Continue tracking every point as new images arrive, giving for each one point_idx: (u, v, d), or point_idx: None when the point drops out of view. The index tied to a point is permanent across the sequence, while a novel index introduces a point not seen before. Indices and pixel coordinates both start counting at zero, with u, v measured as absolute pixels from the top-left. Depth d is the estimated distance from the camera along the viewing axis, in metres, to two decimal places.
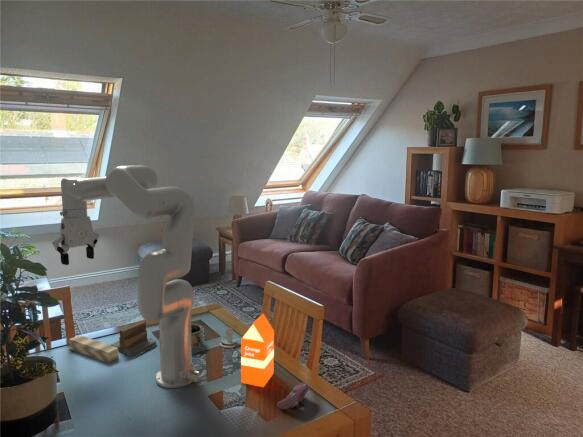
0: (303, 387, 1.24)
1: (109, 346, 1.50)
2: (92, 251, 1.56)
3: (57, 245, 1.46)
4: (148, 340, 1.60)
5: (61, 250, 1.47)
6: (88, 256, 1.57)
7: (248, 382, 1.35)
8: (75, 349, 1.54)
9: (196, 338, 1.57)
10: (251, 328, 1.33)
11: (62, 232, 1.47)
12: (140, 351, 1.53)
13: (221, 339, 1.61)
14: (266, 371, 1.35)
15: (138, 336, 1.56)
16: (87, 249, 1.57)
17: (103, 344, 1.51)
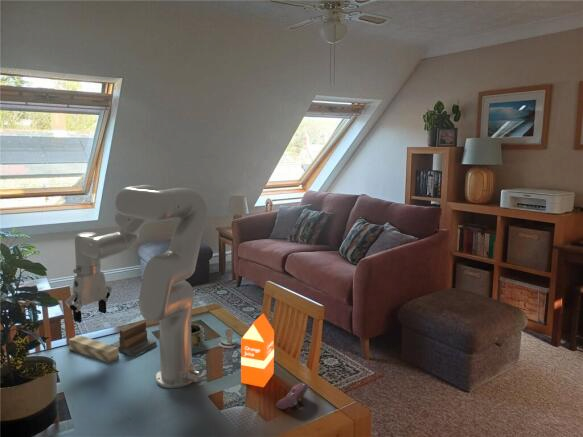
0: (302, 387, 1.24)
1: (109, 346, 1.50)
2: (104, 305, 1.53)
3: (70, 303, 1.42)
4: (148, 340, 1.60)
5: (74, 308, 1.43)
6: (100, 310, 1.54)
7: (248, 382, 1.35)
8: (75, 349, 1.54)
9: (196, 338, 1.57)
10: (251, 328, 1.33)
11: (75, 289, 1.44)
12: (140, 351, 1.53)
13: (221, 339, 1.61)
14: (266, 371, 1.35)
15: (138, 336, 1.56)
16: (99, 303, 1.54)
17: (103, 344, 1.51)
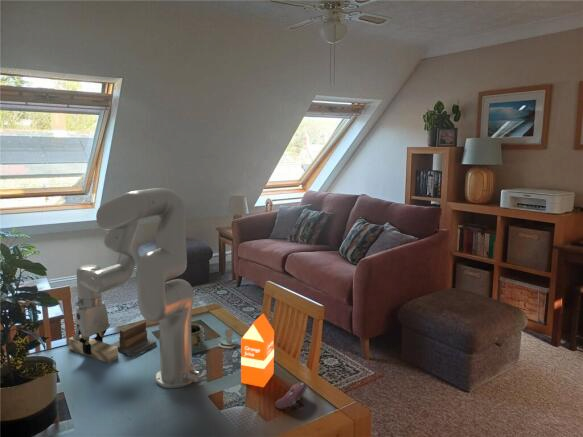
0: (301, 386, 1.24)
1: (109, 345, 1.50)
2: None
3: (78, 339, 1.46)
4: (148, 340, 1.60)
5: (83, 341, 1.48)
6: None
7: (248, 382, 1.35)
8: (75, 348, 1.54)
9: (196, 338, 1.57)
10: (251, 328, 1.33)
11: (77, 322, 1.46)
12: (140, 351, 1.53)
13: (220, 340, 1.61)
14: (266, 371, 1.35)
15: (138, 336, 1.56)
16: (96, 339, 1.54)
17: (103, 343, 1.51)
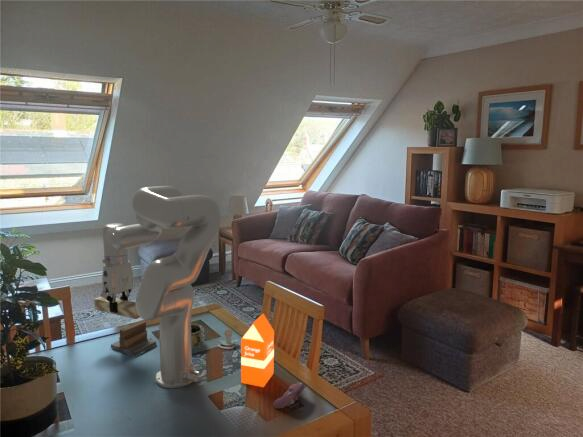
0: (299, 386, 1.24)
1: (135, 303, 1.51)
2: None
3: (106, 296, 1.47)
4: (148, 340, 1.60)
5: (110, 299, 1.49)
6: None
7: (248, 382, 1.35)
8: (100, 308, 1.54)
9: (196, 338, 1.57)
10: (251, 328, 1.33)
11: (105, 279, 1.47)
12: (140, 351, 1.53)
13: (220, 340, 1.61)
14: (266, 371, 1.35)
15: (138, 336, 1.56)
16: None
17: (129, 302, 1.52)
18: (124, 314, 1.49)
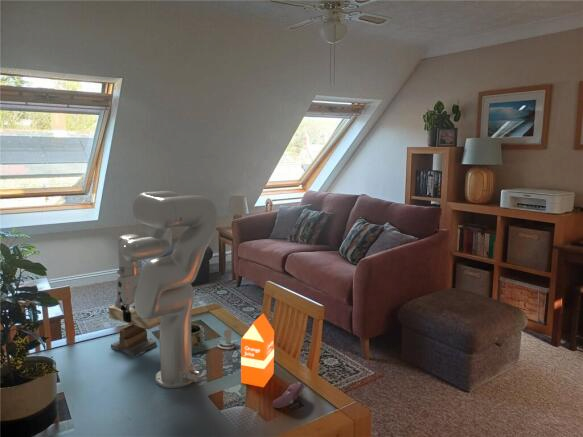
0: (298, 386, 1.24)
1: None
2: None
3: (120, 306, 1.50)
4: (148, 340, 1.60)
5: (124, 309, 1.51)
6: None
7: (248, 382, 1.35)
8: (114, 317, 1.57)
9: (196, 338, 1.57)
10: (251, 328, 1.33)
11: (119, 290, 1.50)
12: (140, 351, 1.53)
13: (219, 340, 1.60)
14: (266, 371, 1.35)
15: (138, 336, 1.56)
16: (135, 308, 1.57)
17: None
18: (137, 324, 1.52)
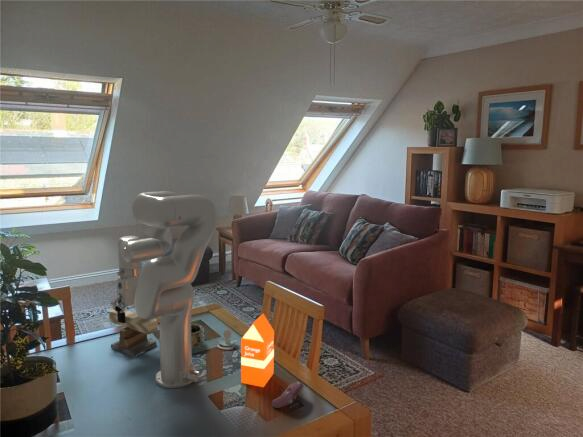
0: (297, 385, 1.25)
1: None
2: None
3: (115, 305, 1.48)
4: (148, 340, 1.60)
5: (118, 309, 1.49)
6: None
7: (248, 382, 1.35)
8: (115, 321, 1.58)
9: (196, 338, 1.57)
10: (251, 328, 1.33)
11: (119, 291, 1.50)
12: (140, 351, 1.53)
13: (219, 341, 1.60)
14: (266, 371, 1.35)
15: (138, 336, 1.56)
16: None
17: None
18: (138, 329, 1.52)
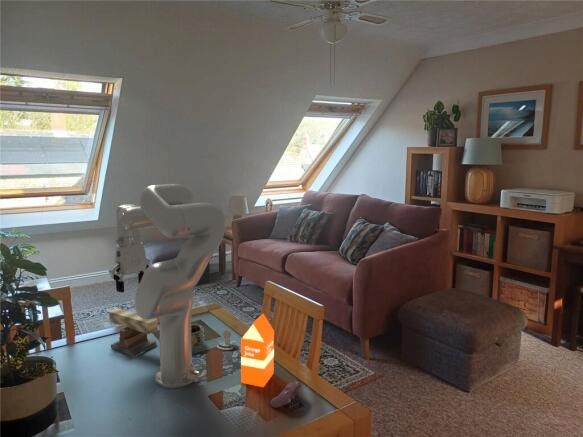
0: (295, 385, 1.25)
1: None
2: None
3: (113, 273, 1.46)
4: (148, 340, 1.60)
5: (117, 278, 1.47)
6: (140, 282, 1.58)
7: (248, 382, 1.35)
8: (115, 321, 1.58)
9: (196, 338, 1.57)
10: (251, 328, 1.33)
11: (118, 260, 1.48)
12: (140, 351, 1.53)
13: (218, 341, 1.60)
14: (266, 371, 1.35)
15: (138, 336, 1.56)
16: (139, 275, 1.57)
17: None
18: (138, 328, 1.52)
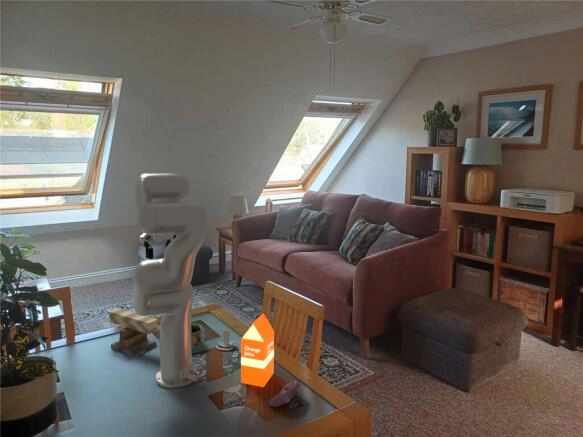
0: (294, 384, 1.25)
1: (148, 318, 1.54)
2: None
3: (144, 240, 1.51)
4: (148, 340, 1.60)
5: (147, 245, 1.52)
6: None
7: (248, 382, 1.35)
8: (115, 321, 1.58)
9: (196, 338, 1.57)
10: (251, 328, 1.33)
11: None
12: (140, 351, 1.53)
13: (218, 342, 1.59)
14: (266, 371, 1.35)
15: (138, 336, 1.56)
16: (167, 244, 1.63)
17: (142, 316, 1.55)
18: (138, 328, 1.52)
